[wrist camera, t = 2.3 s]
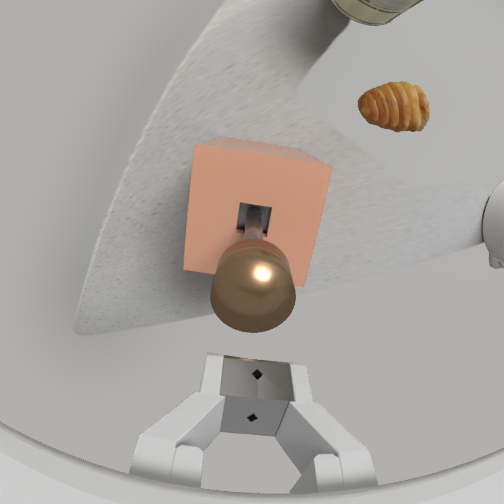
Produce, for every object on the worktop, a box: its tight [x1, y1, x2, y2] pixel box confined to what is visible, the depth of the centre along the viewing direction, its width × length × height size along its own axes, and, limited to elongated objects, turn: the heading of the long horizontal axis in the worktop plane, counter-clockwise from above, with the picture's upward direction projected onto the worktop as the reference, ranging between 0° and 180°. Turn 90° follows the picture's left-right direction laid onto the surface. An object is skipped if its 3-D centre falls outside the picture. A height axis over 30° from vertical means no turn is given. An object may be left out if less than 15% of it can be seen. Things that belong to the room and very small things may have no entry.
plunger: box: [210, 202, 296, 333], centre depth 19 cm, size 8×8×13 cm
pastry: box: [358, 82, 429, 132], centre depth 32 cm, size 9×7×4 cm
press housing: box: [183, 137, 332, 287], centre depth 30 cm, size 10×10×16 cm
